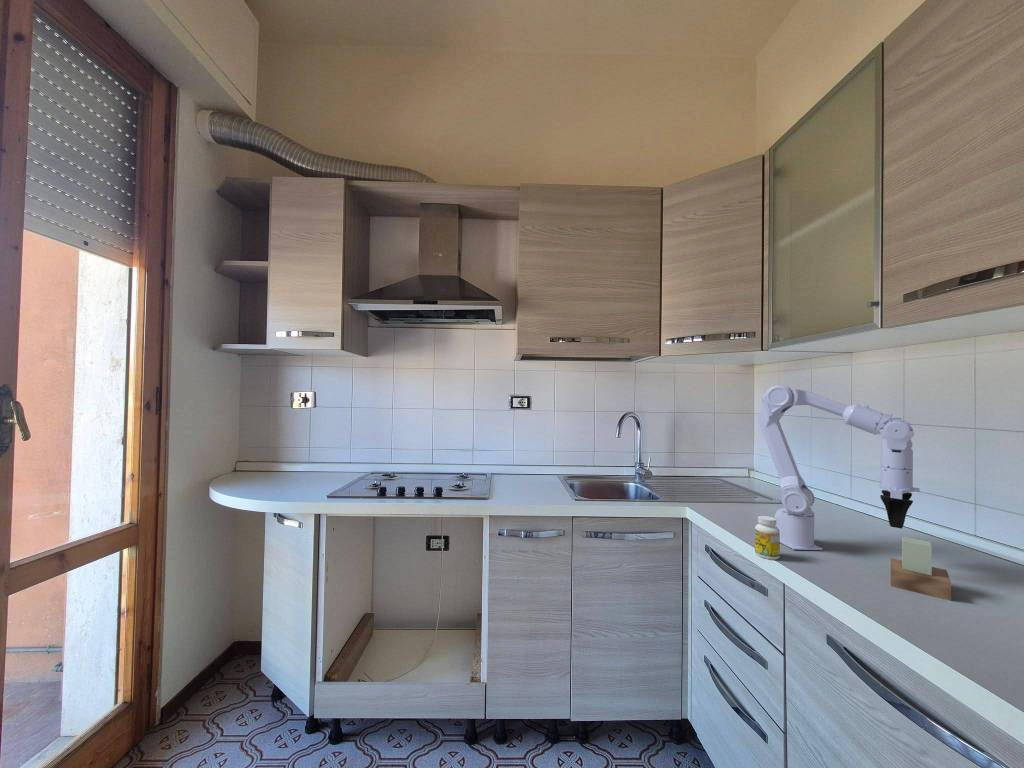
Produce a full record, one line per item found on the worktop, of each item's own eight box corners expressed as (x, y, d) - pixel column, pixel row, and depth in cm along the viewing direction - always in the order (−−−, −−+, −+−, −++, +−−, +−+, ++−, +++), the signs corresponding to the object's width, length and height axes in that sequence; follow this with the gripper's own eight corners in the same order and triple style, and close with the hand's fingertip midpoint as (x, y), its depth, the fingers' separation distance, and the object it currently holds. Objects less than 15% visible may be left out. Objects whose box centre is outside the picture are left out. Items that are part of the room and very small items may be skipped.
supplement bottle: (784, 559, 103) (785, 520, 103) (766, 560, 102) (766, 521, 102) (767, 551, 108) (767, 514, 109) (749, 552, 107) (750, 515, 108)
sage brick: (902, 569, 90) (903, 541, 90) (901, 563, 93) (902, 536, 93) (931, 575, 87) (931, 546, 87) (929, 569, 90) (929, 541, 91)
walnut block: (890, 587, 90) (890, 569, 90) (890, 575, 96) (890, 558, 97) (951, 602, 84) (951, 582, 84) (946, 588, 90) (946, 569, 90)
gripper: (920, 473, 93) (920, 534, 93) (918, 466, 104) (918, 521, 103) (878, 469, 98) (878, 527, 97) (880, 463, 108) (880, 515, 108)
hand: (896, 523), depth 101 cm, fingers open, 7 cm apart
